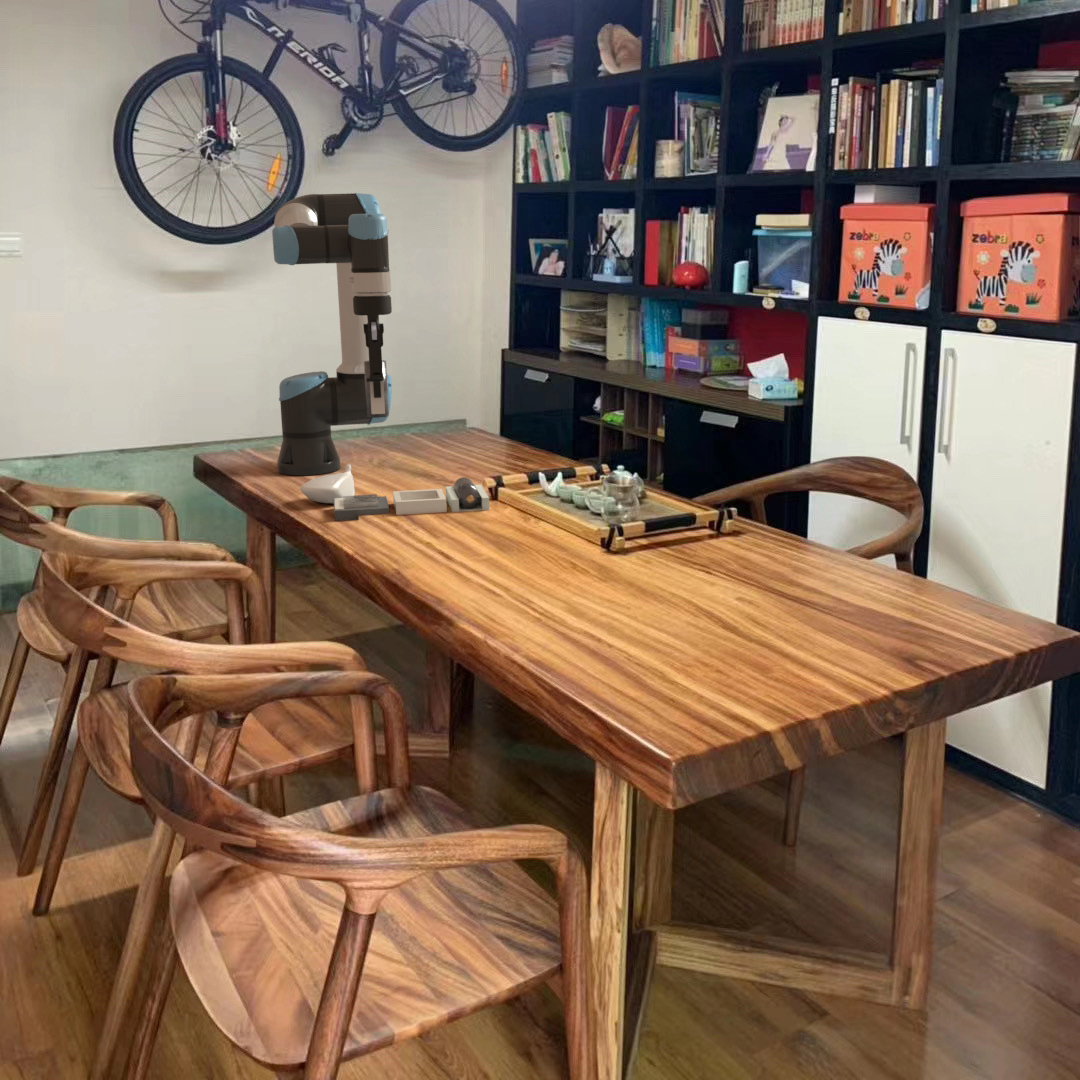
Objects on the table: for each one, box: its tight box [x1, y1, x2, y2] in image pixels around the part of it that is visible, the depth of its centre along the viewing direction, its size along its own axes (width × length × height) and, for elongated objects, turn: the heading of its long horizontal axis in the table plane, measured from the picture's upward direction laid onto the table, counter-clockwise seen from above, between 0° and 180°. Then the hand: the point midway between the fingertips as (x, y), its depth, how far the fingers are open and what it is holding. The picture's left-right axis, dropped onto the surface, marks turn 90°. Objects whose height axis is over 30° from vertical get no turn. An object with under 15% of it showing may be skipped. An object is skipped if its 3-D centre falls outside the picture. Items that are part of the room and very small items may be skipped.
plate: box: [343, 493, 378, 508], centre depth 248 cm, size 7×7×1 cm
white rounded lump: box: [299, 463, 356, 505], centre depth 260 cm, size 10×11×12 cm
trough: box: [445, 484, 490, 513], centre depth 251 cm, size 13×8×3 cm, turn 10°
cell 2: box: [453, 477, 481, 509], centre depth 251 cm, size 12×4×4 cm, turn 10°
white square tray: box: [392, 488, 448, 516], centre depth 249 cm, size 10×10×4 cm
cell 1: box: [364, 359, 390, 418], centre depth 242 cm, size 4×4×12 cm
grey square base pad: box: [333, 495, 390, 522], centre depth 249 cm, size 11×11×2 cm
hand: (378, 411), depth 243 cm, fingers closed on cell 1, 4 cm apart
